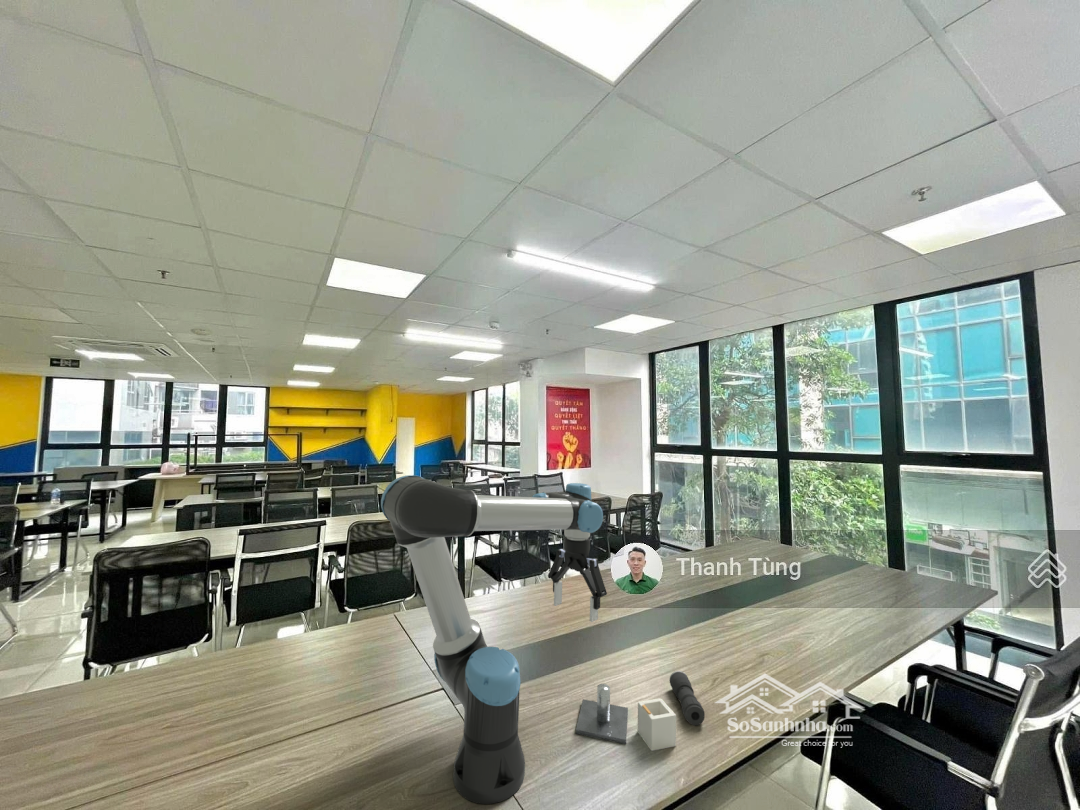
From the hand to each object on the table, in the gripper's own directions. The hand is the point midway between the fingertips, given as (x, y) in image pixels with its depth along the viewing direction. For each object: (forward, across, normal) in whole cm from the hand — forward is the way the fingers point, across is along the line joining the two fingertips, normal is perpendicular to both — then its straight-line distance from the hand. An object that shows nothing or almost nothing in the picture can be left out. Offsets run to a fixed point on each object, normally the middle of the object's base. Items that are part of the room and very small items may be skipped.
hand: (575, 612), depth 120 cm
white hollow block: (+22, -26, -1) cm, 34 cm away
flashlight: (+22, -25, -18) cm, 38 cm away
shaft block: (+22, -14, +4) cm, 26 cm away
